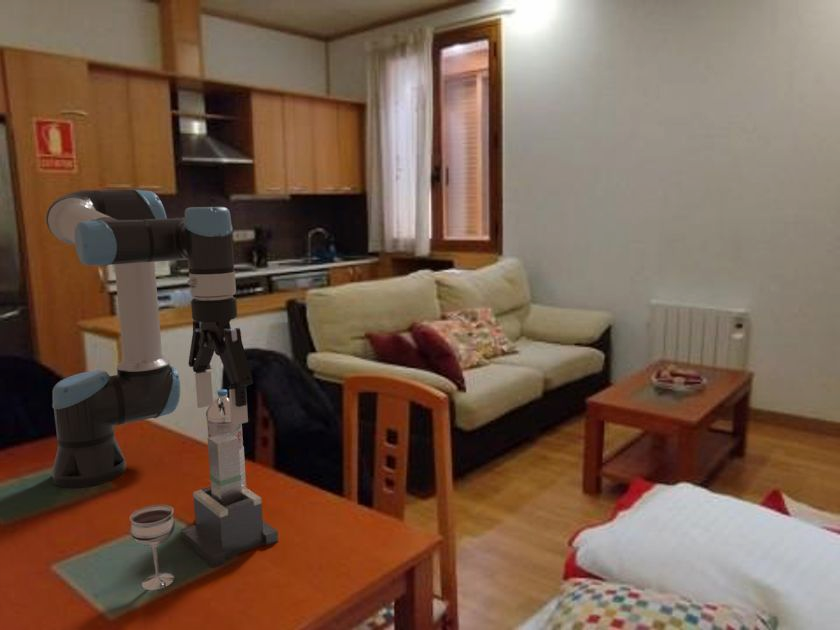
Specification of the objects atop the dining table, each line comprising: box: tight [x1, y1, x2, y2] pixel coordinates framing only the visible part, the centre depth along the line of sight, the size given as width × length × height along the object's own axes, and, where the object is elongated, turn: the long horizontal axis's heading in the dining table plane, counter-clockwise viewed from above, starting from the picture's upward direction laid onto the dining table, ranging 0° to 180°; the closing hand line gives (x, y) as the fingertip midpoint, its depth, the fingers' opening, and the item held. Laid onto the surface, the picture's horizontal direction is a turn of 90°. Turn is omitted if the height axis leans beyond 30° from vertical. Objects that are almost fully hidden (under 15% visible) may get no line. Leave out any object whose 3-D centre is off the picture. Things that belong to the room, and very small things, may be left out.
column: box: [207, 433, 242, 507], centre depth 119 cm, size 7×4×20 cm, turn 42°
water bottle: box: [205, 388, 247, 488], centre depth 131 cm, size 7×7×25 cm
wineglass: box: [129, 504, 176, 591], centre depth 107 cm, size 7×7×12 cm
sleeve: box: [180, 485, 279, 568], centre depth 120 cm, size 13×13×9 cm
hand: (221, 414), depth 116 cm, fingers open, 13 cm apart
